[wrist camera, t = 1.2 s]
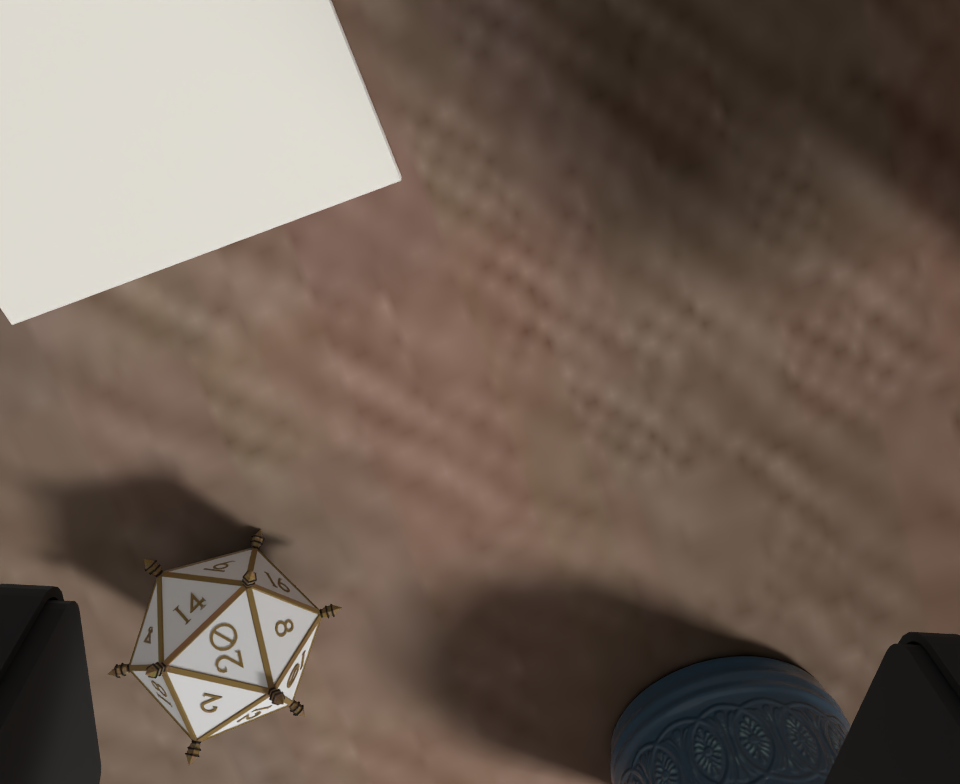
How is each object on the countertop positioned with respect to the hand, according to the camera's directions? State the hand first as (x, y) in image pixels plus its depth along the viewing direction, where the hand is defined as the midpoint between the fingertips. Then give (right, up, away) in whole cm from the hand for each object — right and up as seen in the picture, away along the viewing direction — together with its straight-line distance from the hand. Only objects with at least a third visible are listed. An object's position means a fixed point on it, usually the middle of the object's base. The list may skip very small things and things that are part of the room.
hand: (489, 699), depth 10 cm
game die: (-11, -5, +30) cm, 32 cm away
